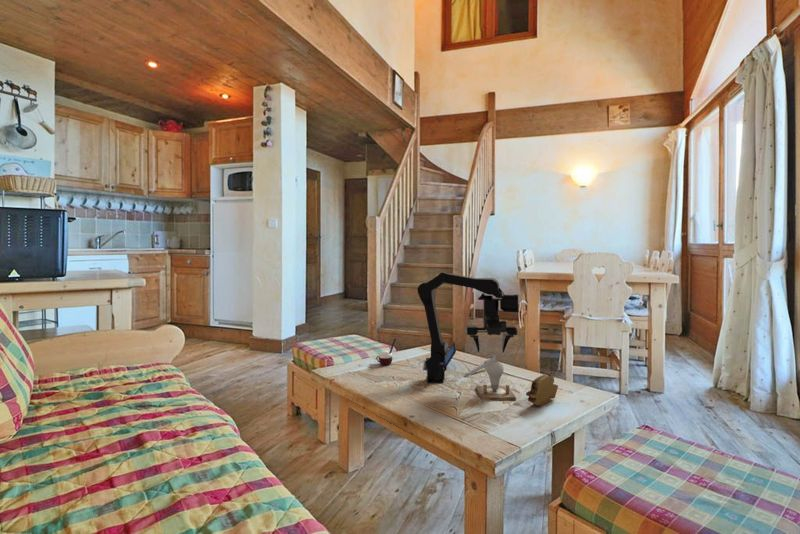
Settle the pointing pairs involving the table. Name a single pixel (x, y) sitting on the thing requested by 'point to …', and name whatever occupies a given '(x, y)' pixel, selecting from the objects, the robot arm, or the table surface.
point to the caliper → (481, 365)
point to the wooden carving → (542, 390)
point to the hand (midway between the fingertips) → (490, 352)
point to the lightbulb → (494, 373)
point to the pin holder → (495, 393)
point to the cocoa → (386, 356)
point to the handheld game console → (448, 359)
